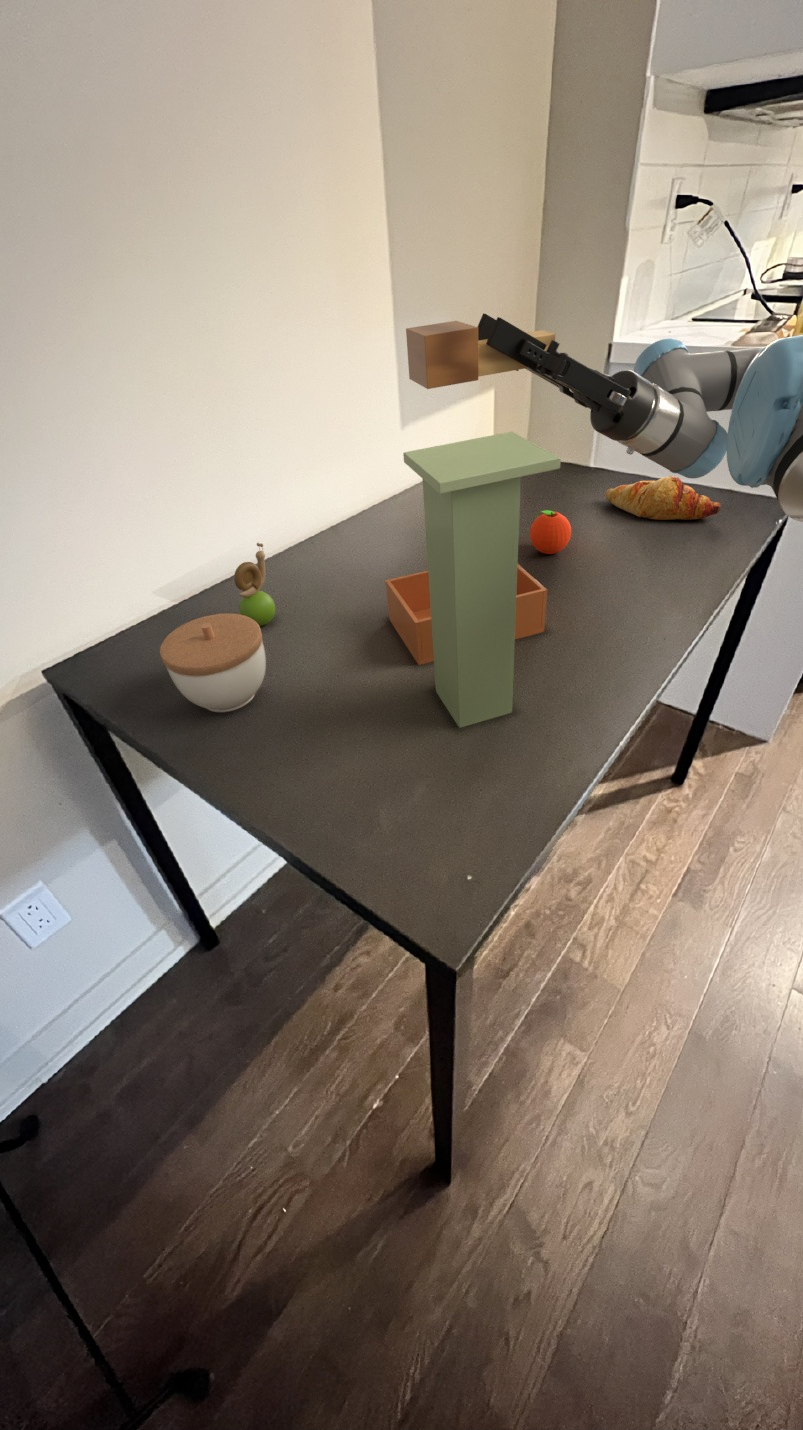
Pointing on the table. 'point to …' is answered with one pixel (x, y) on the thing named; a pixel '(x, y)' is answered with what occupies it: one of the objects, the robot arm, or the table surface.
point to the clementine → (550, 532)
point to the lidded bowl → (216, 660)
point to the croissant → (662, 500)
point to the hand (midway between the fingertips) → (486, 329)
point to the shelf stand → (475, 565)
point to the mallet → (456, 354)
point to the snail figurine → (254, 590)
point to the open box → (414, 610)
